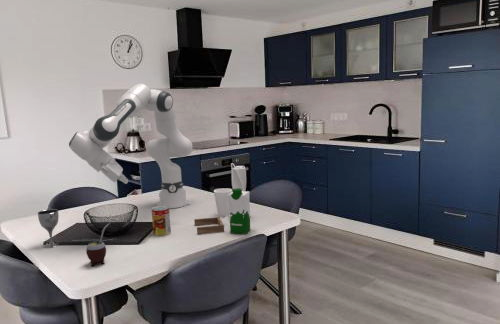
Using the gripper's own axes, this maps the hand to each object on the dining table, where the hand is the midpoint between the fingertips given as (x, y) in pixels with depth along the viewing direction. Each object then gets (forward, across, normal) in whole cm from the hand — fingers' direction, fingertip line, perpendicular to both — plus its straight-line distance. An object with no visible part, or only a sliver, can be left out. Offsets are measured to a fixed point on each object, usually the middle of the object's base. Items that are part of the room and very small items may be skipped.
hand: (127, 182), depth 187 cm
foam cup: (+50, +21, -14) cm, 56 cm away
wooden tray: (+42, 0, -7) cm, 42 cm away
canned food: (+27, 0, +8) cm, 28 cm away
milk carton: (+52, -9, -16) cm, 55 cm away
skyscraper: (+55, +12, -19) cm, 59 cm away
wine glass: (-6, -1, +42) cm, 42 cm away
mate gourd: (+10, -29, +25) cm, 40 cm away
